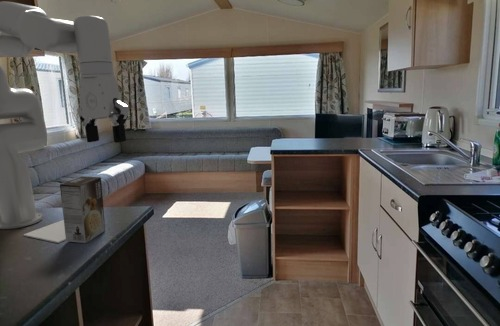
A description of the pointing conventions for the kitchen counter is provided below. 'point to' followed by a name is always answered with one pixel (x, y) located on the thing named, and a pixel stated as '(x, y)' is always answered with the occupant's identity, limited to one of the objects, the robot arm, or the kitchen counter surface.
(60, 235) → the mat
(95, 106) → the robot arm
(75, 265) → the kitchen counter surface
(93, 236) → the coffee box
